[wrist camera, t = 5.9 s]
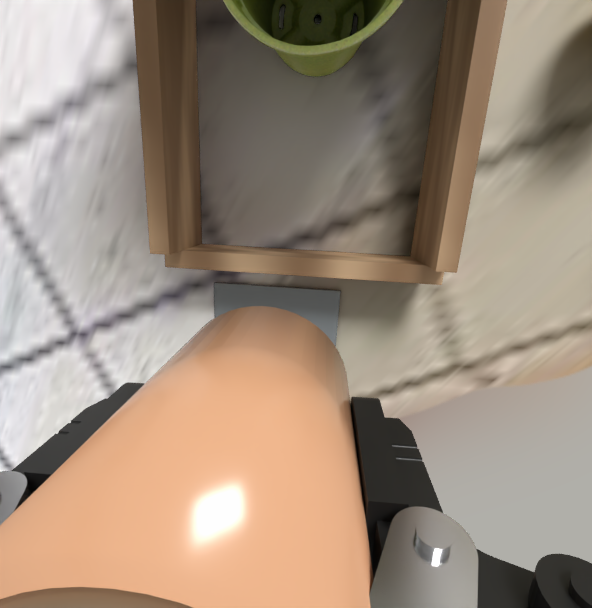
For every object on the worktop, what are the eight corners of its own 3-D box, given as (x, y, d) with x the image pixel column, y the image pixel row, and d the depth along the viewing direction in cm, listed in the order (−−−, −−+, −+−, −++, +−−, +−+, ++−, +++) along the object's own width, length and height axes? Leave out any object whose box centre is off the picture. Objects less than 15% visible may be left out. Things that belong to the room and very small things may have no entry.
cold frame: (187, 258, 27) (134, 279, 20) (173, -111, 21) (87, -293, 13) (424, 273, 26) (466, 301, 19) (484, -109, 20) (587, -305, 12)
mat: (216, 372, 30) (215, 373, 30) (215, 282, 28) (214, 283, 27) (332, 381, 29) (332, 383, 29) (340, 290, 27) (340, 291, 27)
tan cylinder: (186, 451, 12) (-66, 892, 4) (176, 301, 11) (-238, 561, 3) (342, 463, 12) (377, 974, 4) (353, 310, 11) (447, 639, 2)
